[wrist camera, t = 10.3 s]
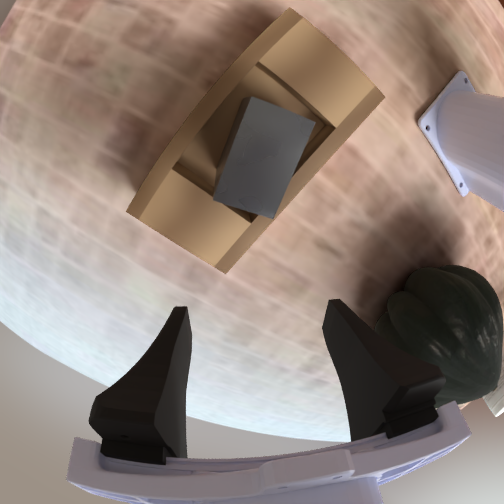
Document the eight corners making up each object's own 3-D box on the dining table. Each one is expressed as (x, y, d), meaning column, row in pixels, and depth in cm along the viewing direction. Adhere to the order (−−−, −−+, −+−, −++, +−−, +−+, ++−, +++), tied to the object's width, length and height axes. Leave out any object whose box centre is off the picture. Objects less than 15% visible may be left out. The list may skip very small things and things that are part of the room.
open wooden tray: (364, 95, 17) (385, 97, 14) (225, 252, 22) (225, 274, 20) (280, 20, 14) (289, 7, 11) (138, 195, 19) (125, 211, 17)
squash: (325, 365, 22) (426, 463, 16) (444, 228, 17) (550, 349, 11) (360, 327, 34) (431, 397, 28) (434, 237, 29) (509, 315, 23)
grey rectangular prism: (287, 114, 16) (315, 122, 11) (259, 183, 19) (273, 219, 13) (243, 98, 16) (251, 96, 10) (216, 169, 18) (212, 200, 13)
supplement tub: (452, 365, 38) (486, 425, 26) (461, 336, 34) (504, 404, 21) (489, 340, 37) (524, 393, 24) (500, 308, 32) (545, 367, 20)
